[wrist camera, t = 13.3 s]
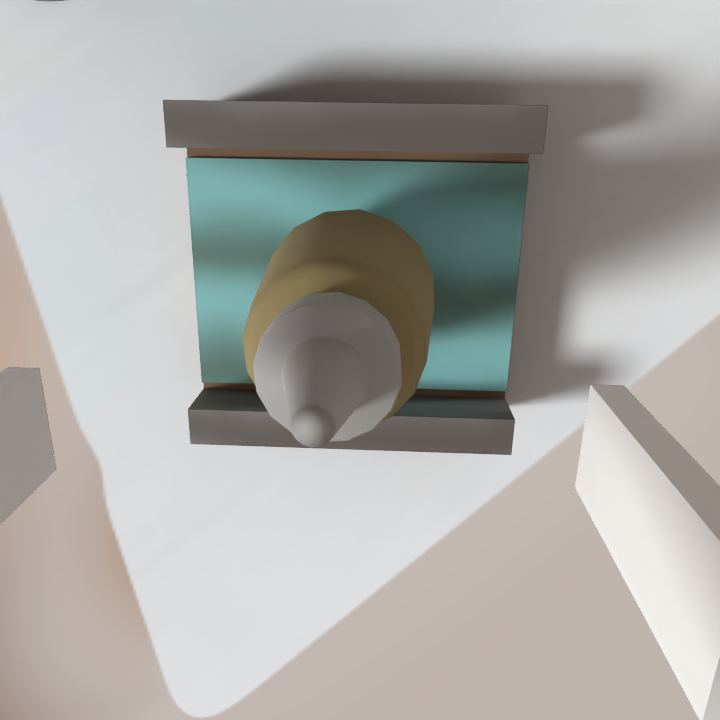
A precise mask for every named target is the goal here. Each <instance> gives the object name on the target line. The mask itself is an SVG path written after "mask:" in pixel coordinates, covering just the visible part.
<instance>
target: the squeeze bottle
mask: <svg viewBox="0 0 720 720" xmlns="http://www.w3.org/2000/svg"><path fill="white" fill-rule="evenodd" d="M434 308H435V307H434V281H433V273H432V271H431V269H430V266H429V264H428V262H427V260H426V258H425V256H424V254H423V252H422V249H421V247H420V245H419V243H417V242H416V241H415V240H414V239H413V238H412V237H411V236H410V235H408V234H407V233H406V232H405V231H404V230H403V229H402V228H401V227H400V226H398V225H397V224H396V223H395V222H394V221H393V220H390V219H387V218H384V217H381V216H378V215H375V214H372V213H369V212H366V211H364V210H361V209H355V210H341V211H328V212H323V213H321V214H319V215H317V216H316V217H314V218H312V219H310V220H308V221H306V222H304V223H302V224H300V225H298V226H296V227H294V229H293V230H292V231H291V232H290V233H289V235H288V236H287V237H286V238H285V240H284V241H283V242H282V243H281V244H280V246H279V247H278V248H277V249H276V251H275V252H274V253H273V255H272V257H271V260H270V262H269V264H268V267H267V269H266V271H265V274H264V276H263V278H262V281H261V283H260V285H259V288H258V290H257V292H256V295H255V297H254V299H253V302H252V304H251V308H250V311H249V315H248V318H247V322H246V326H245V329H244V333H243V336H242V339H243V346H244V353H245V360H246V367H247V372H248V374H249V376H250V377H251V379H252V381H253V382H254V384H255V386H256V391H257V394H258V395H259V397H260V399H261V401H262V402H263V404H264V406H265V407H266V409H267V411H268V412H269V414H270V416H271V417H272V418H274V419H275V420H276V421H278V422H279V423H280V424H281V425H283V426H284V427H285V428H286V429H288V430H289V431H290V432H292V434H293V436H294V438H295V439H296V440H297V441H298V442H300V443H301V444H302V445H305V446H309V447H320V446H322V445H325V444H327V443H328V442H333V441H349V440H351V439H353V438H355V437H358V436H360V435H362V434H365V433H367V432H369V431H371V430H373V429H374V428H375V427H376V426H377V425H378V424H379V423H380V422H382V421H384V420H387V419H389V418H391V417H392V416H393V415H394V414H395V413H396V412H397V411H398V410H399V409H400V408H401V407H402V406H403V405H404V404H405V403H406V402H407V401H408V400H409V399H410V398H411V397H412V395H413V394H414V393H415V391H416V388H417V386H418V383H419V381H420V378H421V375H422V373H423V370H424V368H425V365H426V363H427V357H428V350H429V343H430V336H431V329H432V322H433V315H434Z"/></svg>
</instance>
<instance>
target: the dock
mask: <svg viewBox="0 0 720 720" xmlns="http://www.w3.org/2000/svg"><path fill="white" fill-rule="evenodd" d="M163 109H164V121H165V133H166V146H167V147H176V148H187V157H188V158H186V168H187V182H188V196H189V210H190V224H191V238H192V251H193V265H194V279H195V293H196V307H197V321H198V335H199V349H200V362H201V376H202V382H204V389H203V390H202V392H201V393H200V394H199V396H198V397H197V398H196V400H195V401H194V402H193V403H192V405H191V406H190V407H189V409H188V417H189V429H190V441H191V444H210V445H239V446H268V447H297V448H326V449H355V450H384V451H413V452H443V453H472V454H501V455H511V452H512V443H513V433H514V424H515V419H514V417H513V415H512V413H511V410H510V408H509V406H508V404H507V402H506V400H505V391H507V381H508V371H509V361H510V350H511V340H512V330H513V320H514V310H515V300H516V290H517V280H518V270H519V260H520V250H521V240H522V230H523V220H524V210H525V200H526V189H527V179H528V169H529V164H528V156H529V153H534V154H543V150H544V140H545V131H546V121H547V112H548V105H493V104H421V103H349V102H277V101H205V100H163ZM355 209H361V210H364V211H366V212H369V213H372V214H375V215H378V216H381V217H384V218H387V219H390V220H393V221H394V222H395V223H396V224H397V225H398V226H400V227H401V228H402V229H403V230H404V231H405V232H406V233H407V234H408V235H410V236H411V237H412V238H413V239H414V240H415V241H416V242H417V243H419V245H420V247H421V249H422V252H423V254H424V256H425V258H426V260H427V262H428V264H429V266H430V269H431V271H432V273H433V281H434V307H435V308H434V315H433V322H432V329H431V336H430V343H429V350H428V357H427V363H426V365H425V368H424V370H423V373H422V375H421V378H420V381H419V383H418V386H417V388H416V391H415V393H414V394H413V395H412V397H411V398H410V399H409V400H408V401H407V402H406V403H405V404H404V405H403V406H402V407H401V408H400V409H399V410H398V411H397V412H396V413H395V414H394V415H393V416H392V417H391V418H389V419H387V420H384V421H382V422H380V423H379V424H378V425H377V426H376V427H375V428H374V429H373V430H371V431H369V432H367V433H365V434H362V435H360V436H358V437H355V438H353V439H351V440H349V441H333V442H328V443H327V444H325V445H322V446H320V447H309V446H305V445H302V444H301V443H300V442H298V441H297V440H296V439H295V438H294V436H293V434H292V432H290V431H289V430H288V429H286V428H285V427H284V426H283V425H281V424H280V423H279V422H278V421H276V420H275V419H274V418H272V417H271V416H270V414H269V412H268V411H267V409H266V407H265V406H264V404H263V402H262V401H261V399H260V397H259V395H258V394H257V391H256V386H255V384H254V382H253V381H252V379H251V377H250V376H249V374H248V372H247V367H246V360H245V353H244V346H243V339H242V336H243V333H244V329H245V326H246V322H247V318H248V315H249V311H250V308H251V304H252V302H253V299H254V297H255V295H256V292H257V290H258V288H259V285H260V283H261V281H262V278H263V276H264V274H265V271H266V269H267V267H268V264H269V262H270V260H271V257H272V255H273V253H274V252H275V251H276V249H277V248H278V247H279V246H280V244H281V243H282V242H283V241H284V240H285V238H286V237H287V236H288V235H289V233H290V232H291V231H292V230H293V229H294V227H296V226H298V225H300V224H302V223H304V222H306V221H308V220H310V219H312V218H314V217H316V216H317V215H319V214H321V213H323V212H328V211H341V210H355Z"/></svg>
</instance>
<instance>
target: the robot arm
mask: <svg viewBox="0 0 720 720" xmlns="http://www.w3.org/2000/svg"><path fill="white" fill-rule="evenodd" d="M37 1H62V0H37ZM55 470H56V463H55V457H54V451H53V445H52V439H51V433H50V428H49V422H48V415H47V409H46V403H45V397H44V391H43V385H42V379H41V373H40V368H18V367H8V368H6V369H5V370H3V371H2V372H0V525H1V524H2V523H3V522H4V521H5V520H6V519H7V518H8V517H9V516H10V515H11V514H12V513H13V512H14V511H15V510H16V509H17V508H18V507H19V506H20V505H21V504H22V503H23V502H24V501H25V500H26V499H27V498H28V497H29V496H30V495H31V494H32V493H33V492H34V491H35V490H36V489H37V488H38V487H39V486H40V485H41V484H42V483H43V482H44V481H45V480H46V479H47V478H48V477H49V476H50V475H51V474H52V473H53V472H54V471H55ZM575 488H576V490H577V492H578V494H579V496H580V498H581V500H582V501H583V503H584V505H585V507H586V509H587V511H588V513H589V514H590V516H591V518H592V520H593V522H594V524H595V525H596V527H597V529H598V531H599V533H600V535H601V537H602V539H603V541H604V542H605V544H606V546H607V548H608V550H609V551H610V554H611V555H612V557H613V559H614V561H615V563H616V565H617V567H618V568H619V570H620V572H621V574H622V576H623V578H624V580H625V582H626V584H627V585H628V587H629V589H630V591H631V593H632V595H633V597H634V598H635V600H636V602H637V604H638V606H639V608H640V610H641V611H642V613H643V615H644V617H645V619H646V621H647V623H648V625H649V626H650V628H651V630H652V632H653V634H654V636H655V638H656V640H657V641H658V643H659V645H660V647H661V649H662V651H663V653H664V654H665V656H666V658H667V660H668V662H669V664H670V666H671V667H672V669H673V671H674V673H675V675H676V677H677V679H678V681H679V682H680V684H681V686H682V688H683V690H684V692H685V694H686V695H687V697H688V699H689V701H690V703H691V705H692V707H693V708H694V710H695V712H696V714H697V716H698V718H699V720H720V486H719V485H718V484H717V483H716V482H715V480H714V479H713V478H712V477H711V476H710V475H709V474H708V473H707V472H706V471H705V470H704V469H703V468H702V467H701V466H700V465H699V464H698V463H697V462H696V461H695V460H694V458H692V457H691V456H690V454H689V453H688V452H687V451H686V450H685V449H684V448H683V447H682V446H681V445H680V444H679V443H678V442H677V441H676V440H675V439H674V438H673V437H672V435H671V434H670V433H668V431H667V430H666V429H665V428H664V427H663V426H662V425H661V424H660V423H659V422H658V421H657V420H656V419H655V418H654V417H653V416H652V415H651V413H650V412H649V411H648V410H647V409H646V408H645V407H644V406H643V405H642V404H641V403H640V402H639V401H638V400H637V399H636V398H635V397H634V396H633V395H632V394H631V393H630V392H629V390H628V389H627V388H626V387H625V386H623V385H590V391H589V398H588V405H587V411H586V418H585V425H584V431H583V438H582V446H581V451H580V458H579V465H578V472H577V479H576V485H575Z"/></svg>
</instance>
